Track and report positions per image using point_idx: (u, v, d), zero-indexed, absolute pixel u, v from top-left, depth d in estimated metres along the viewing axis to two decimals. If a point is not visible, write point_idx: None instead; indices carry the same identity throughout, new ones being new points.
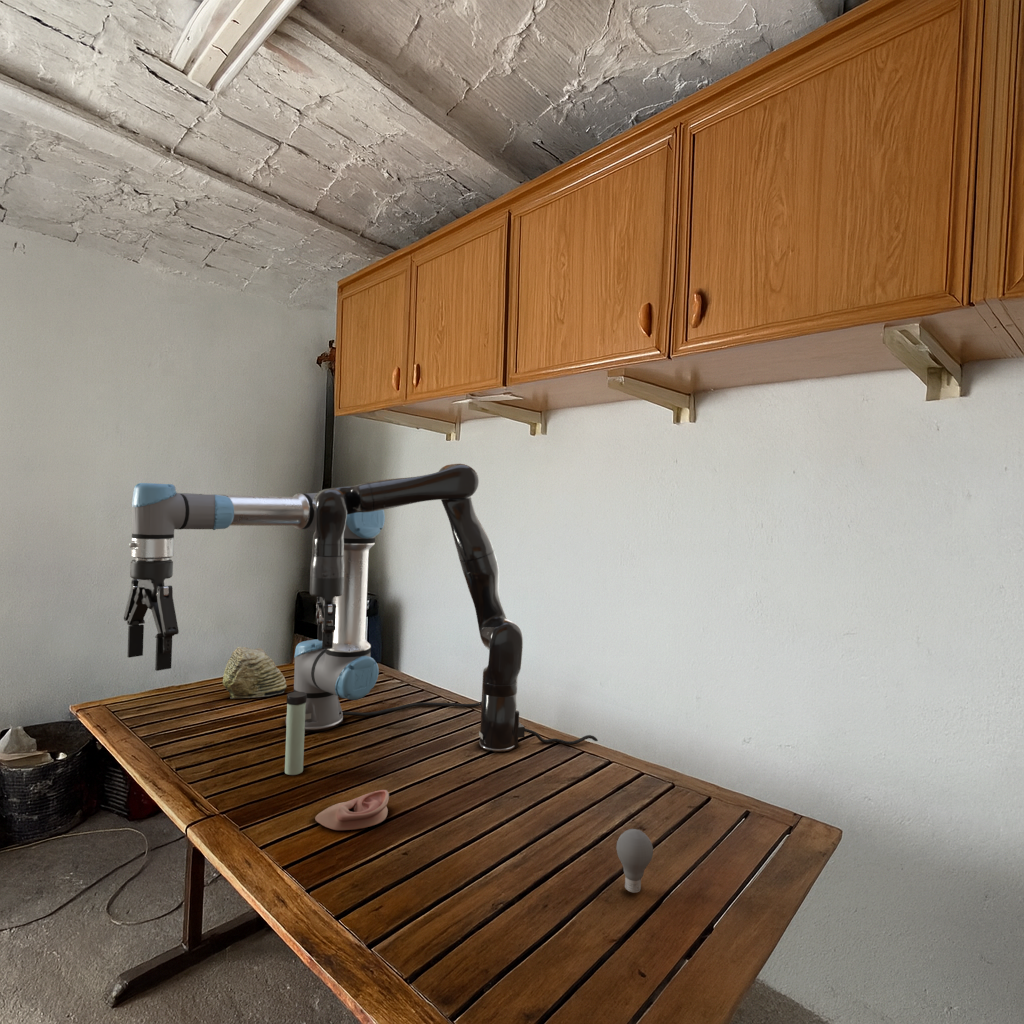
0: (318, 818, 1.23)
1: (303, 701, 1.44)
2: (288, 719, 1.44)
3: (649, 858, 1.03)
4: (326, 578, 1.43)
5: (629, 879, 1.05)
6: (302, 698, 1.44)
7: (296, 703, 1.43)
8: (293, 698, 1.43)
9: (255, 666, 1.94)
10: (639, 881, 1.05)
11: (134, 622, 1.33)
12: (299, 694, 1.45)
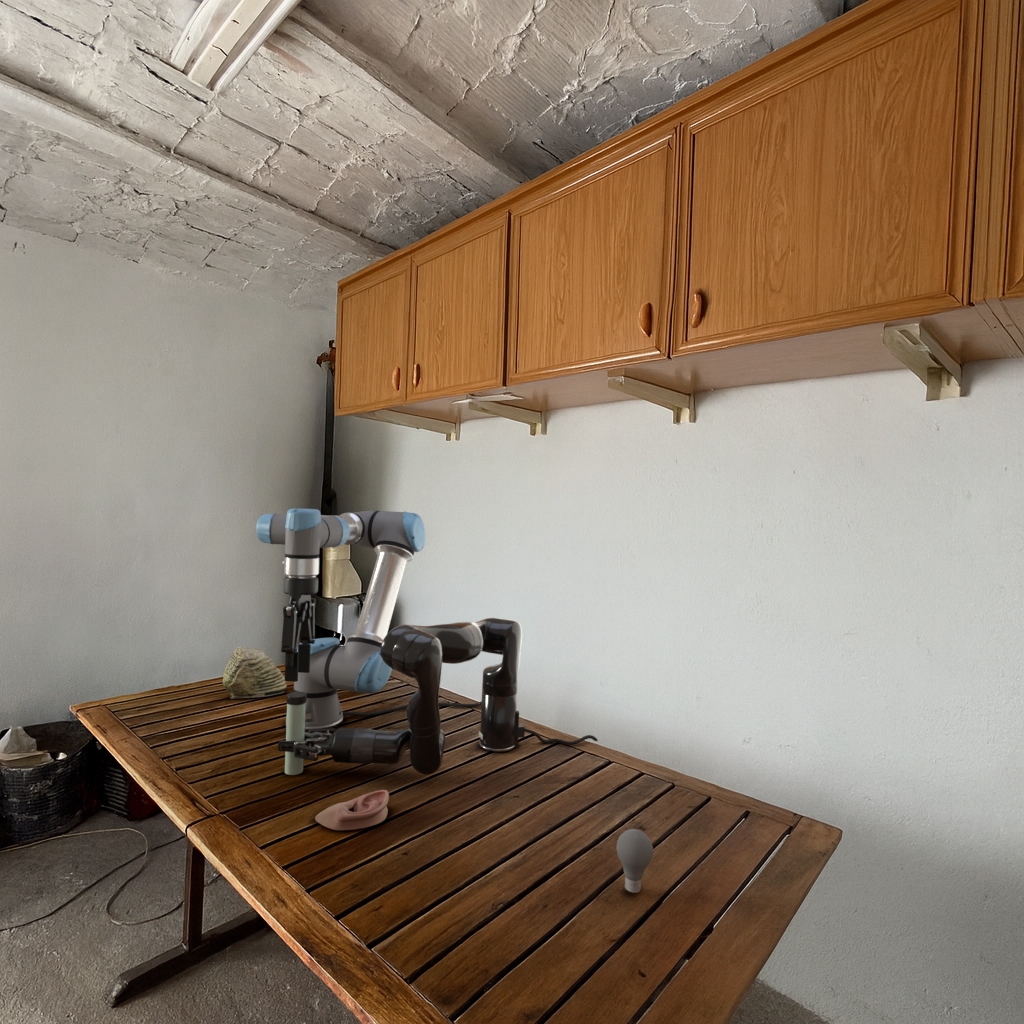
0: (318, 818, 1.23)
1: (303, 701, 1.44)
2: (288, 719, 1.44)
3: (649, 858, 1.03)
4: None
5: (629, 879, 1.05)
6: (302, 698, 1.44)
7: (296, 703, 1.43)
8: (293, 698, 1.43)
9: (255, 666, 1.94)
10: (639, 881, 1.05)
11: (304, 640, 1.49)
12: (299, 694, 1.45)
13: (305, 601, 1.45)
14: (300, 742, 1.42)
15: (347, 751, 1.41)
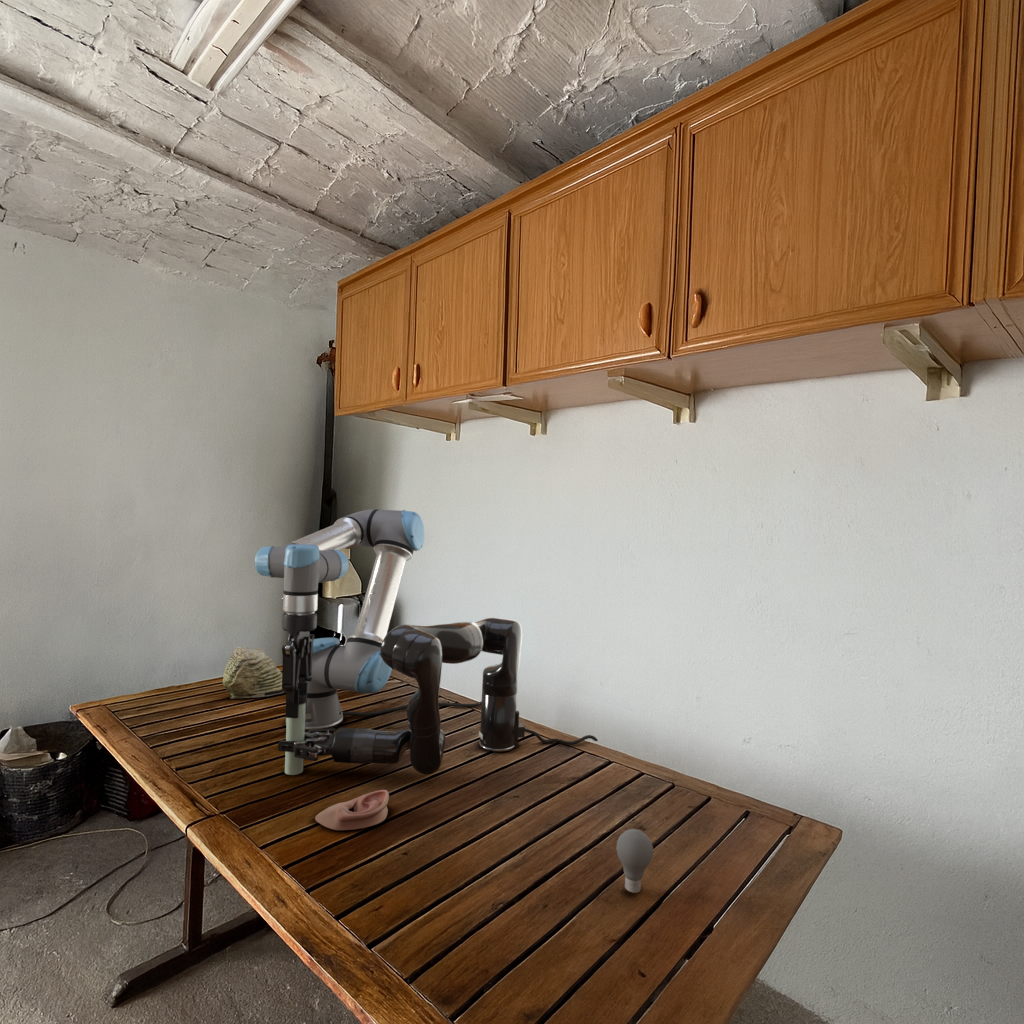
0: (318, 818, 1.23)
1: (303, 701, 1.44)
2: (288, 719, 1.44)
3: (649, 858, 1.03)
4: None
5: (629, 879, 1.05)
6: (302, 698, 1.44)
7: None
8: None
9: (255, 666, 1.94)
10: (639, 881, 1.05)
11: (301, 678, 1.48)
12: (299, 694, 1.45)
13: (304, 637, 1.45)
14: (300, 742, 1.42)
15: (347, 751, 1.41)
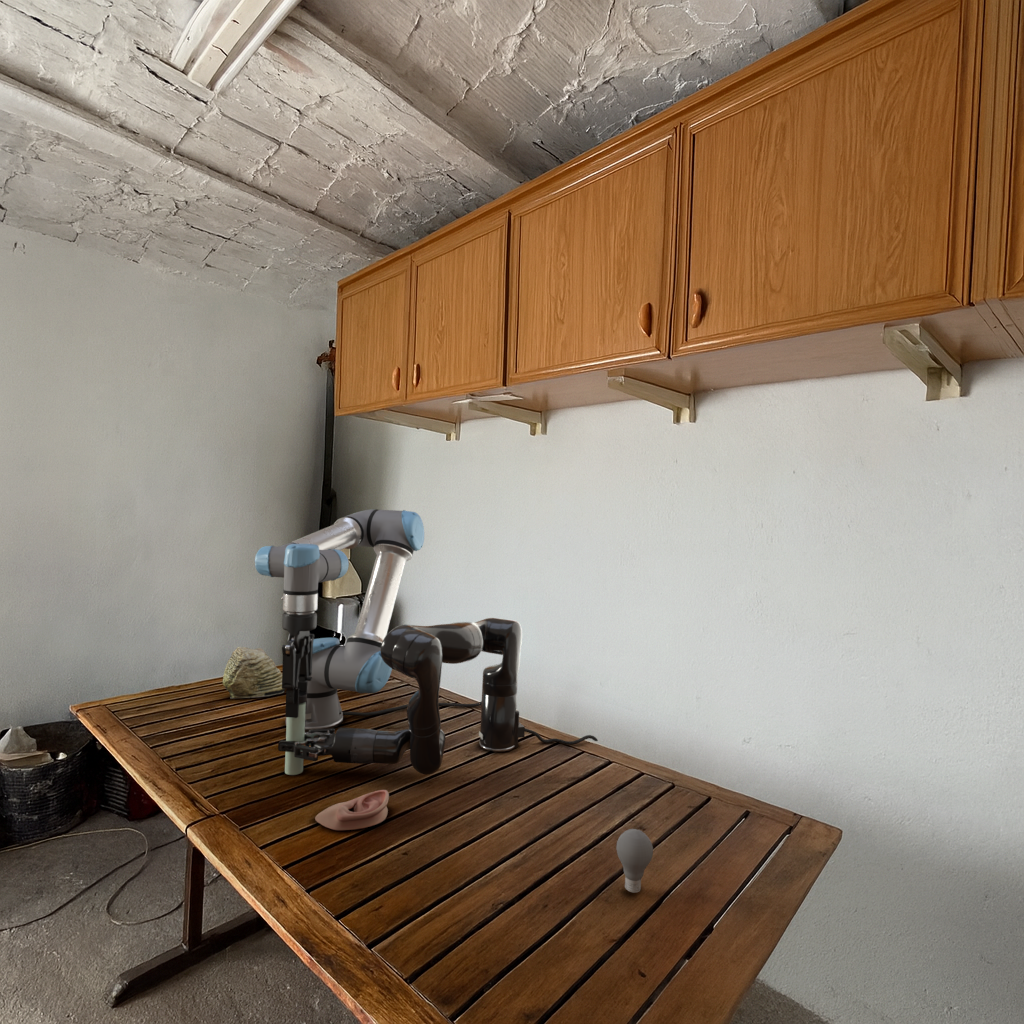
0: (318, 818, 1.23)
1: None
2: (288, 719, 1.44)
3: (649, 858, 1.03)
4: None
5: (629, 879, 1.05)
6: None
7: (306, 699, 1.45)
8: (305, 696, 1.45)
9: (255, 666, 1.94)
10: (639, 881, 1.05)
11: (301, 677, 1.48)
12: None
13: (304, 636, 1.45)
14: (300, 742, 1.42)
15: (347, 751, 1.41)
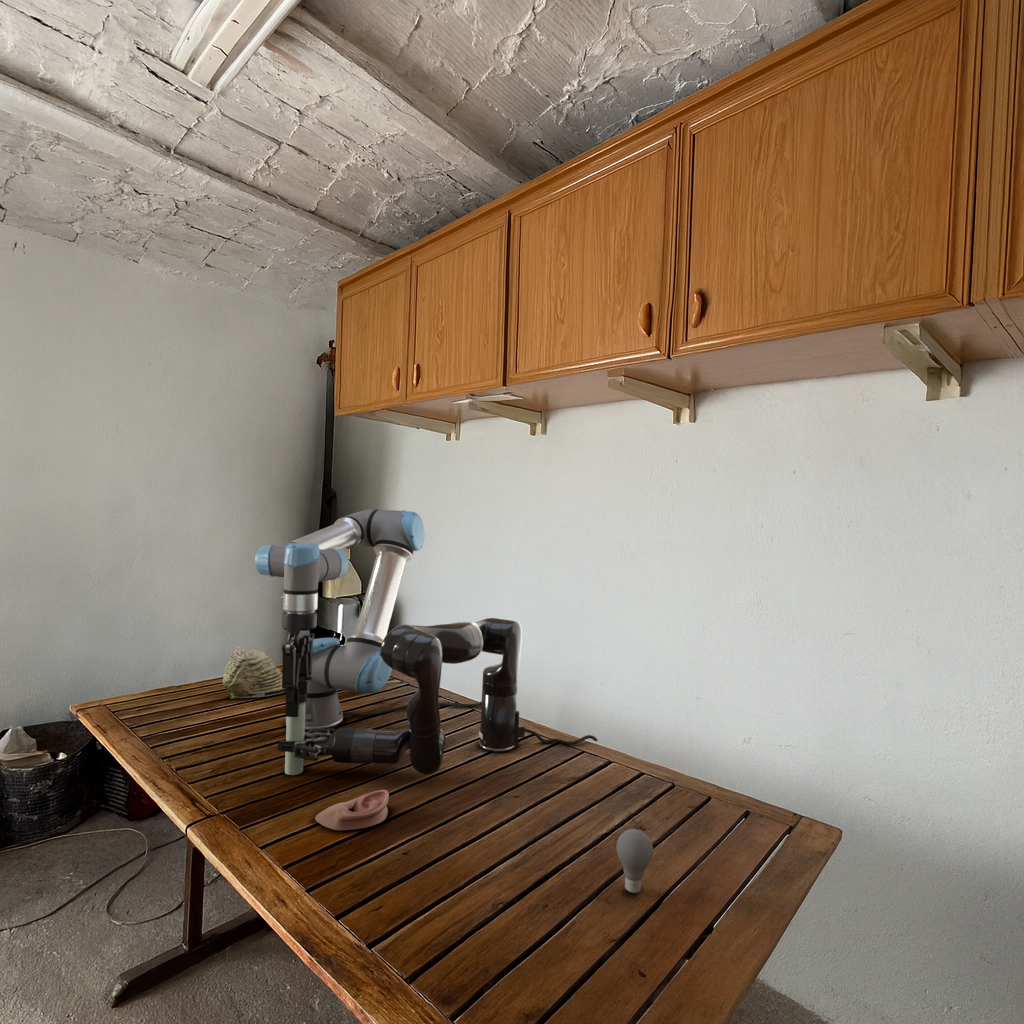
0: (318, 818, 1.23)
1: None
2: (288, 719, 1.44)
3: (649, 858, 1.03)
4: None
5: (629, 879, 1.05)
6: None
7: None
8: None
9: (255, 666, 1.94)
10: (639, 881, 1.05)
11: (301, 677, 1.48)
12: None
13: (304, 636, 1.45)
14: (300, 742, 1.42)
15: (347, 751, 1.41)
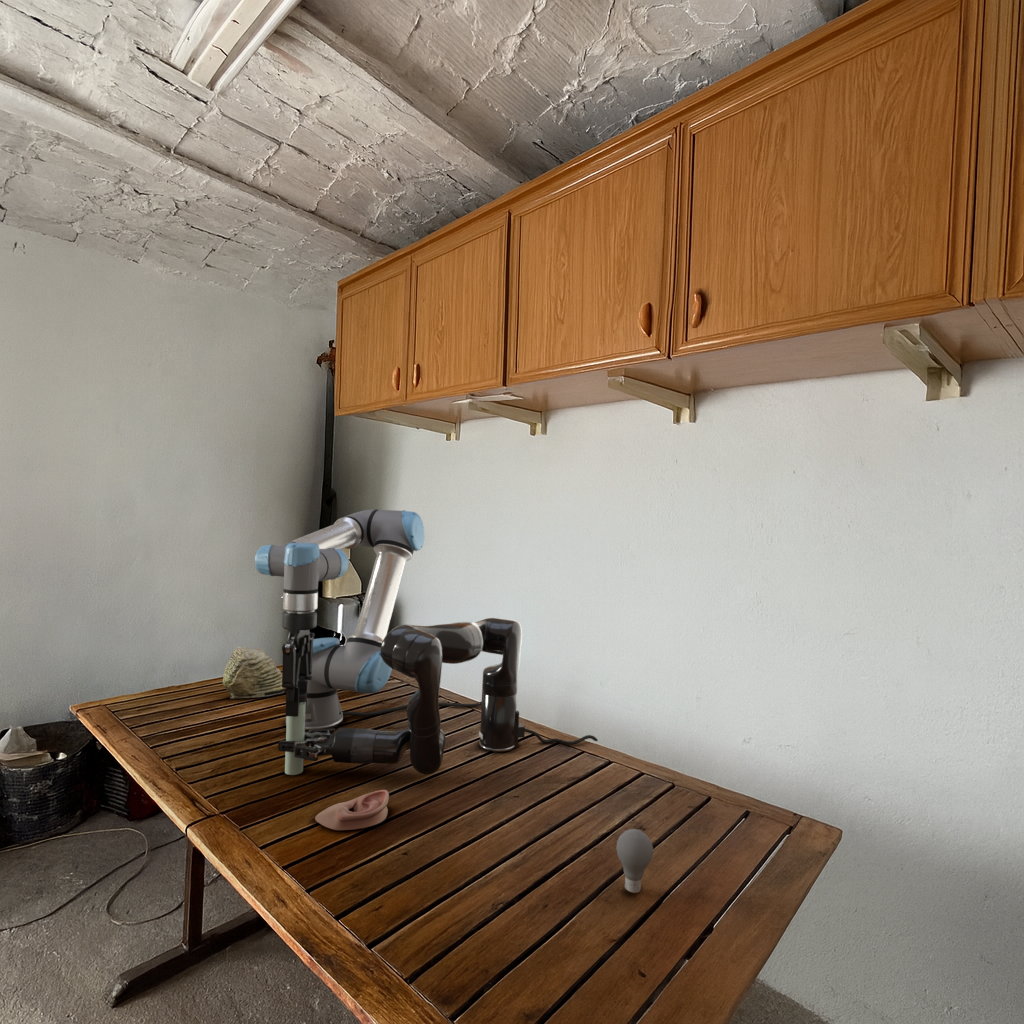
0: (318, 818, 1.23)
1: None
2: (288, 719, 1.44)
3: (649, 858, 1.03)
4: None
5: (629, 879, 1.05)
6: None
7: None
8: None
9: (255, 666, 1.94)
10: (639, 881, 1.05)
11: (301, 676, 1.48)
12: None
13: (304, 635, 1.45)
14: (300, 742, 1.42)
15: (347, 751, 1.41)
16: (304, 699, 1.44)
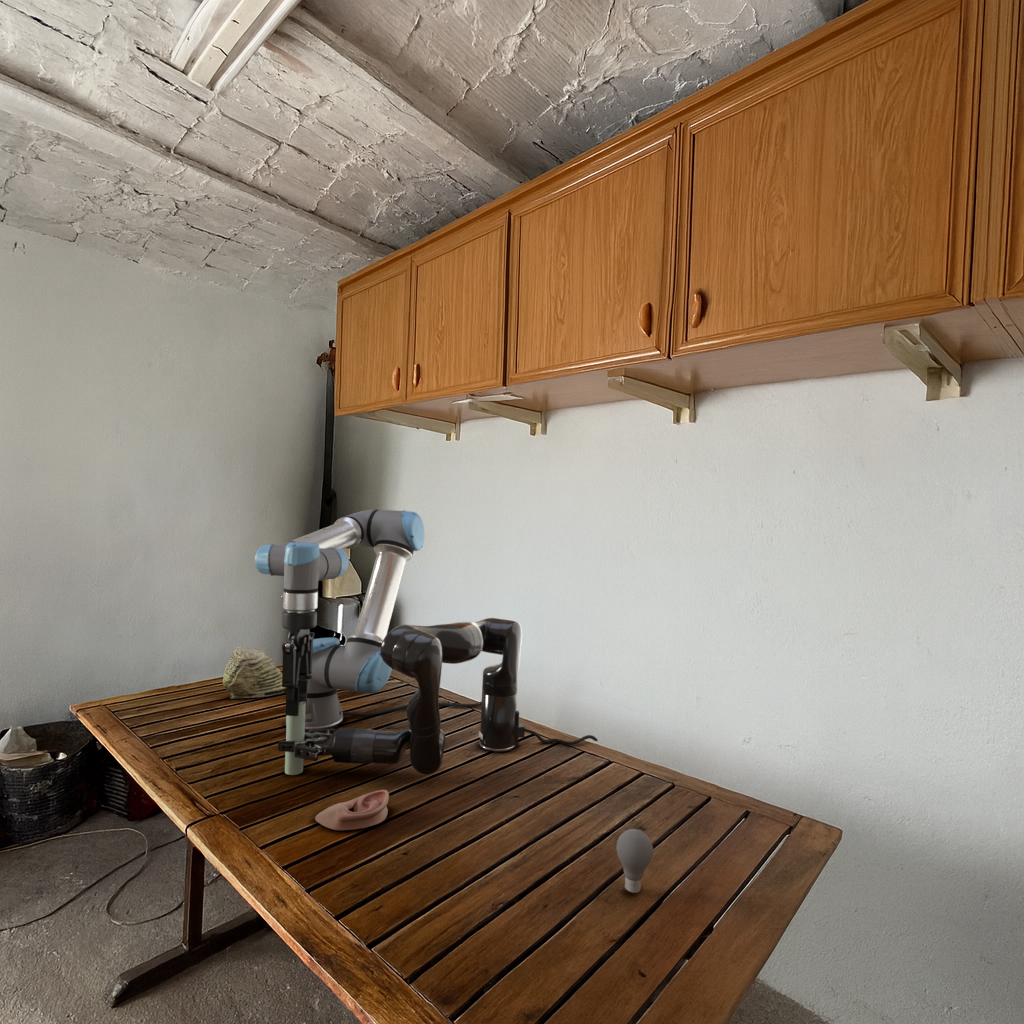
0: (318, 818, 1.23)
1: None
2: (288, 719, 1.44)
3: (649, 858, 1.03)
4: None
5: (629, 879, 1.05)
6: None
7: None
8: None
9: (255, 666, 1.94)
10: (639, 881, 1.05)
11: (301, 675, 1.48)
12: None
13: (304, 635, 1.45)
14: (300, 742, 1.42)
15: (347, 751, 1.41)
16: None
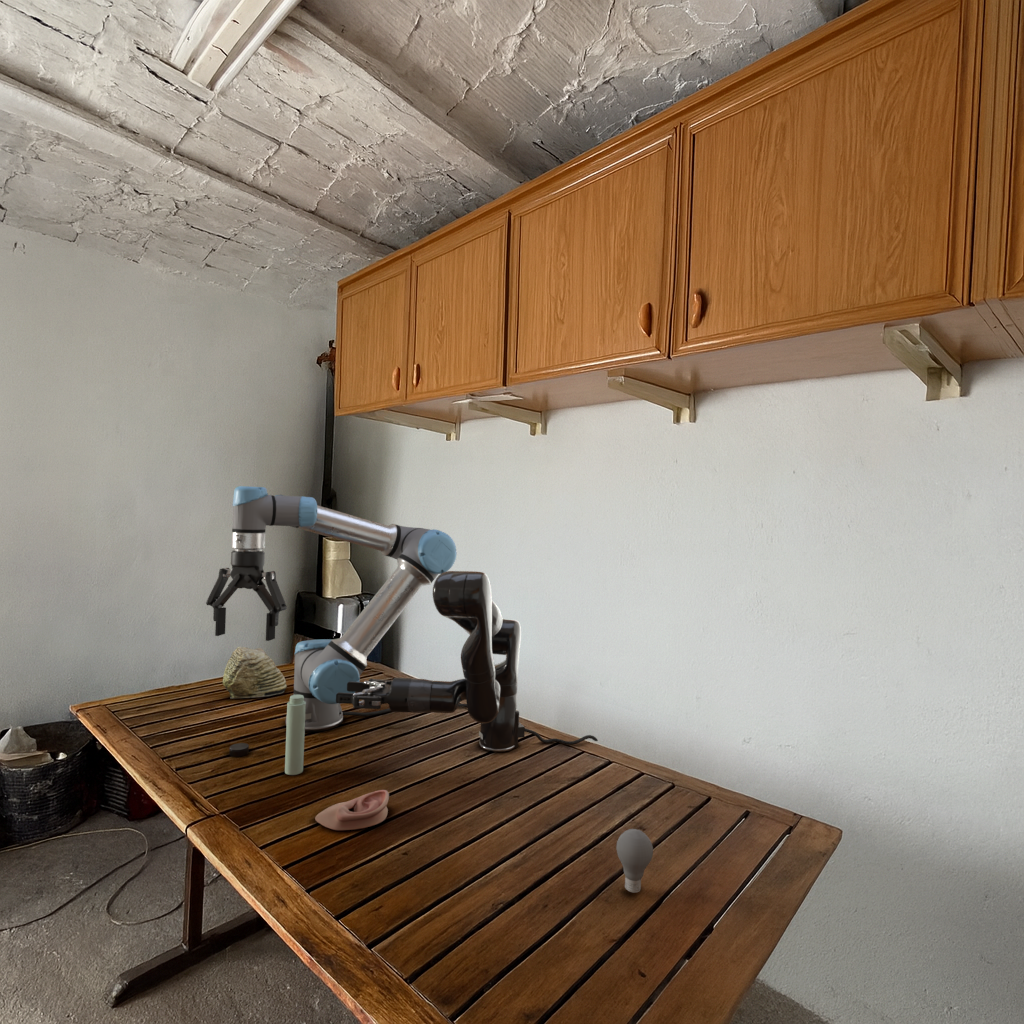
0: (318, 818, 1.23)
1: None
2: (288, 719, 1.44)
3: (649, 858, 1.03)
4: None
5: (629, 879, 1.05)
6: None
7: None
8: None
9: (255, 666, 1.94)
10: (639, 881, 1.05)
11: (219, 605, 1.55)
12: (238, 745, 1.54)
13: None
14: (358, 693, 1.40)
15: (404, 699, 1.41)
16: (230, 753, 1.52)
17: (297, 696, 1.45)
